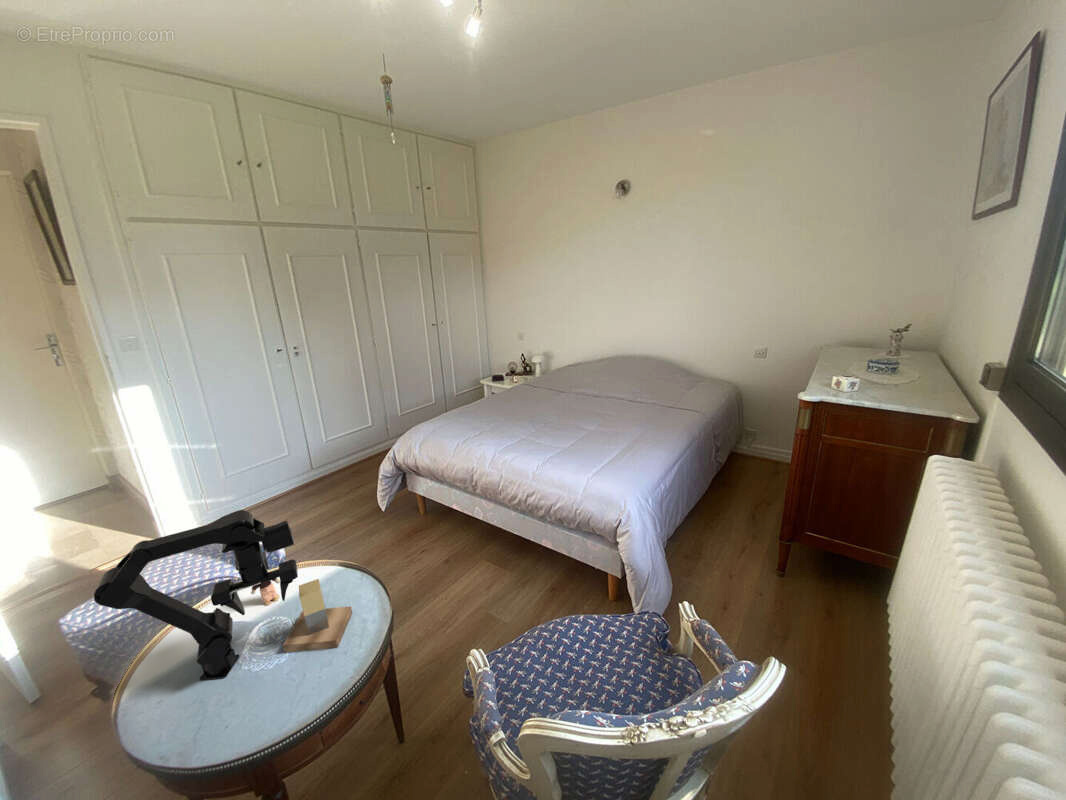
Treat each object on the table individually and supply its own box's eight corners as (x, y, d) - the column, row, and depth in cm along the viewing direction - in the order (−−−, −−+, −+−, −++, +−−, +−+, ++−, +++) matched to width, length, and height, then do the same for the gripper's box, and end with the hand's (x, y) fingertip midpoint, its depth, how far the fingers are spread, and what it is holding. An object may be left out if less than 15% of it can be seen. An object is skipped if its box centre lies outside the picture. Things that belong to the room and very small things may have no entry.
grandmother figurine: (279, 591, 137) (270, 558, 134) (285, 596, 135) (276, 563, 131) (253, 606, 132) (243, 573, 128) (259, 612, 129) (248, 577, 125)
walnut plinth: (285, 652, 115) (283, 645, 114) (304, 617, 127) (302, 610, 126) (338, 647, 116) (336, 640, 115) (352, 612, 127) (350, 606, 127)
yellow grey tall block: (309, 635, 117) (299, 597, 113) (308, 622, 121) (298, 585, 117) (329, 627, 120) (319, 589, 116) (327, 615, 124) (318, 578, 120)
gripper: (290, 530, 120) (302, 575, 125) (210, 553, 112) (225, 601, 116) (290, 552, 111) (303, 600, 115) (203, 579, 102) (220, 630, 107)
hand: (264, 606), depth 114 cm, fingers open, 9 cm apart
